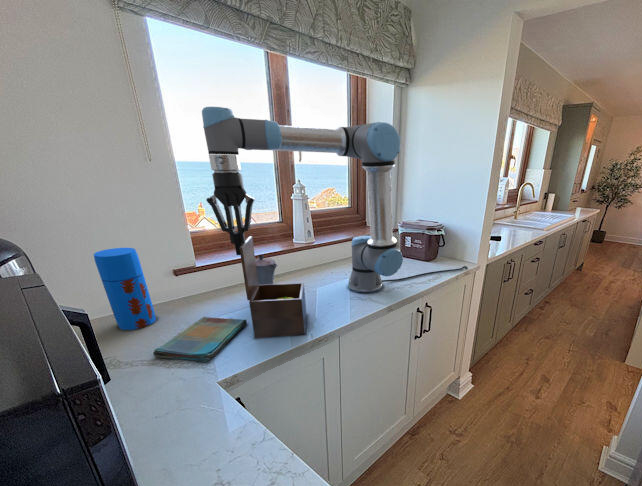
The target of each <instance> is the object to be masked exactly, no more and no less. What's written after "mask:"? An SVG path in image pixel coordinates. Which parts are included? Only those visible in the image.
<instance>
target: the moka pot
mask: <svg viewBox="0 0 642 486" xmlns="http://www.w3.org/2000/svg"><path fill="white" fill-rule="evenodd" d="M255 261H256V269H257V276H258V285H263V284H274V280H275V271H276V268H277V267H278V264H277V263H276V261H275V259H272V258H269V257H267V258H266V257H264V254H258V258H255Z"/></svg>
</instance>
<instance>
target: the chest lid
mask: <svg viewBox="0 0 642 486" xmlns="http://www.w3.org/2000/svg"><path fill="white" fill-rule="evenodd" d="M255 255H256V254H255V247H254V239H253V235H249V236H248V237H247V238H246V239H245V242H244V243H243V244H242V245H241V246H240V255H239V256H240V261H241V267H242V273H243V280H244V286H245V293H246V300H247V301H250V300H251V297H252V295H253V293H254V291H255V289H256V287H257V285H258V276H257V269H256V261H255V259H256V256H255Z"/></svg>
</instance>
